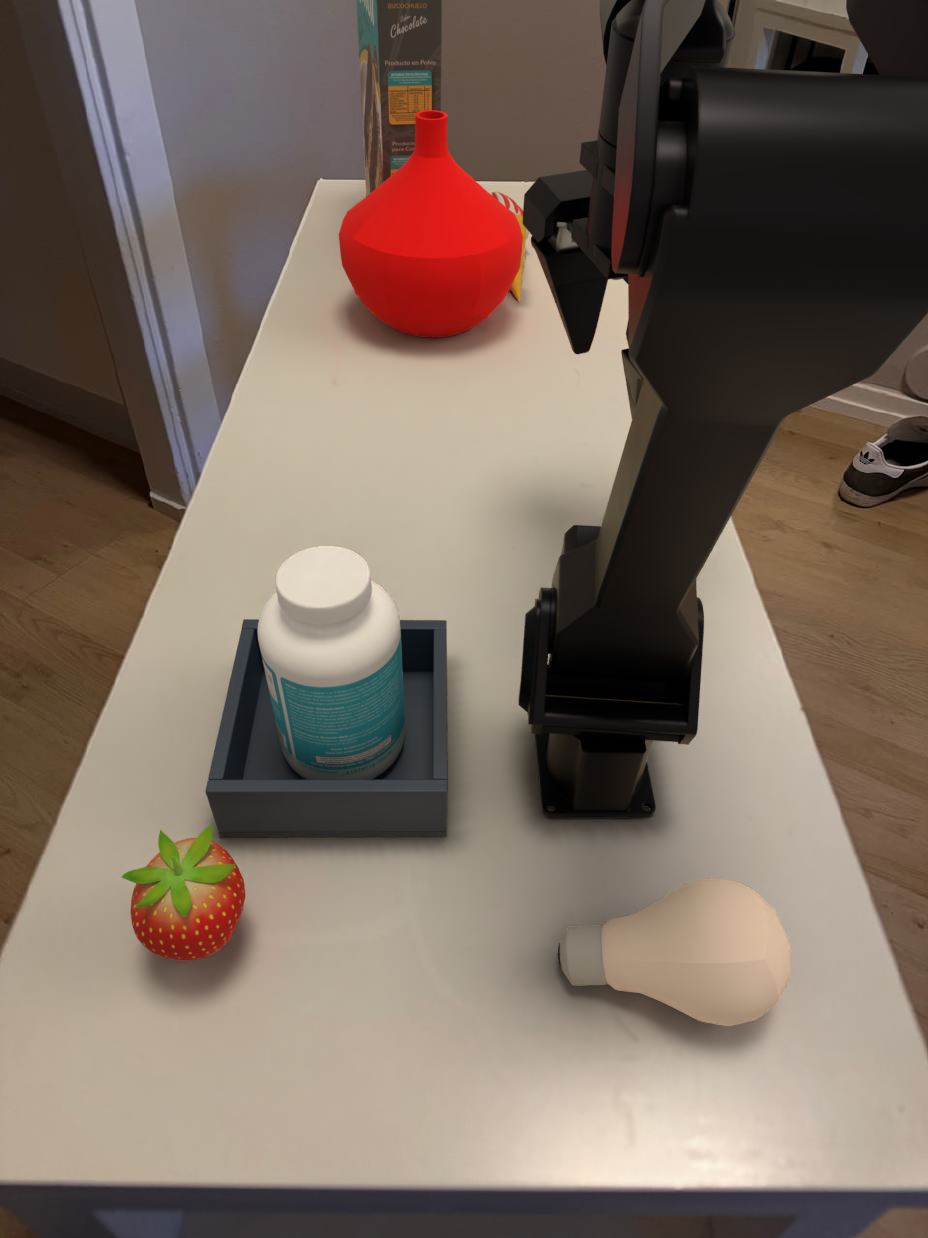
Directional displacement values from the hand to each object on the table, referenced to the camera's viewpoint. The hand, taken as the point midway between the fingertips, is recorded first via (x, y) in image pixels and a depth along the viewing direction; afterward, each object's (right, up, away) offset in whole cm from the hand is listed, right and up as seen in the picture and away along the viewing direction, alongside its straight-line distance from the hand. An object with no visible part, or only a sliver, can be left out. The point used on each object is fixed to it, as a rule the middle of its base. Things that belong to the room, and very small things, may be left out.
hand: (611, 391), depth 56 cm
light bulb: (0, -33, -12) cm, 35 cm away
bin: (-17, -22, -3) cm, 28 cm away
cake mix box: (-17, +31, +50) cm, 62 cm away
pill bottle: (-17, -22, -3) cm, 28 cm away
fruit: (-23, -31, -12) cm, 40 cm away
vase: (-13, +17, +36) cm, 42 cm away
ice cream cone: (-5, +27, +46) cm, 53 cm away
